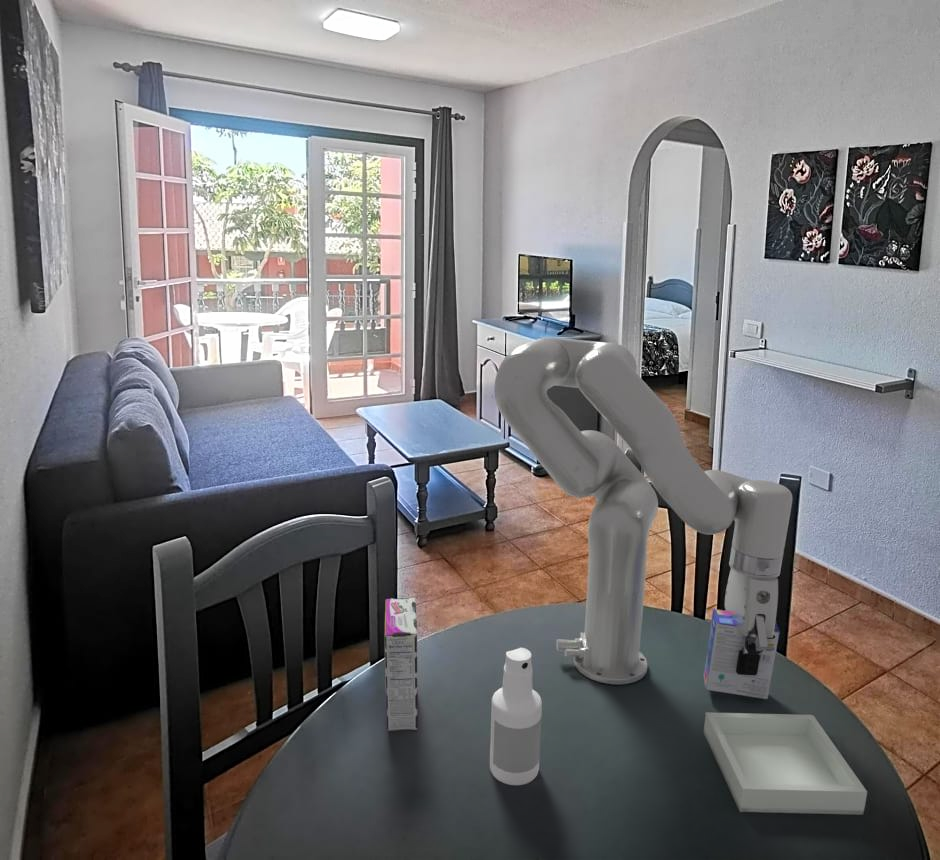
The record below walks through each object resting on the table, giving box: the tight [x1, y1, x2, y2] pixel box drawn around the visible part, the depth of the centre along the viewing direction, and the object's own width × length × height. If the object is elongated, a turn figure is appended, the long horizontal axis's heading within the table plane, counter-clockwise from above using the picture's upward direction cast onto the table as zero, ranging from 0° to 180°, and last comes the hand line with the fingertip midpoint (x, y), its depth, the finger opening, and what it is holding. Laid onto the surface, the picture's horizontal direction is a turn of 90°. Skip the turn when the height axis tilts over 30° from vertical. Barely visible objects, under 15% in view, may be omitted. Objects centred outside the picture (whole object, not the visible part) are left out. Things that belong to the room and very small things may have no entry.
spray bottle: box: [489, 647, 543, 786], centre depth 101 cm, size 7×7×18 cm
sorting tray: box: [703, 711, 868, 816], centre depth 104 cm, size 16×16×4 cm
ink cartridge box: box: [703, 608, 781, 700], centre depth 120 cm, size 10×6×14 cm, turn 79°
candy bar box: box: [384, 597, 419, 732], centre depth 114 cm, size 11×5×16 cm, turn 6°
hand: (739, 661), depth 121 cm, fingers closed on ink cartridge box, 6 cm apart
